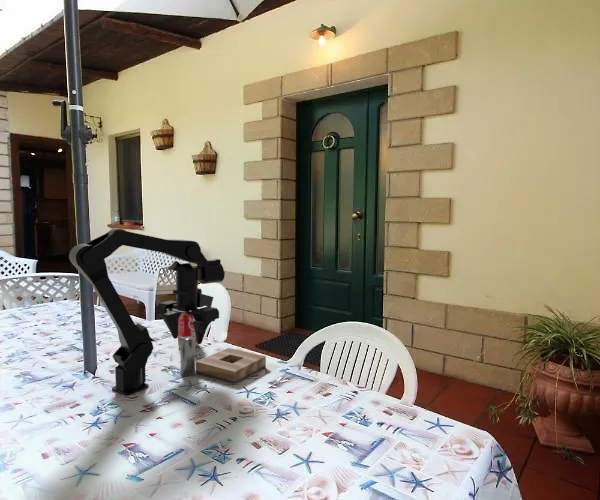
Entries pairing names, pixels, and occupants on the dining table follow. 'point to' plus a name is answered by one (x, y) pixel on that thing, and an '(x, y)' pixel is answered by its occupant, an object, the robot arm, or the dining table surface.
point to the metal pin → (187, 355)
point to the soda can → (186, 327)
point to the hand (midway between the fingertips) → (187, 341)
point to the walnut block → (231, 365)
